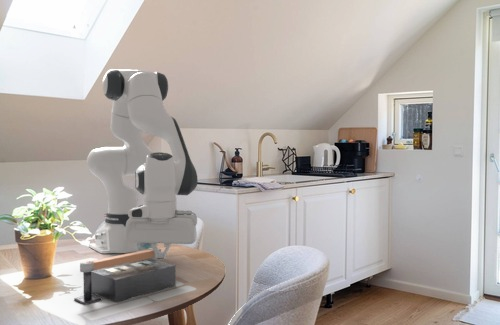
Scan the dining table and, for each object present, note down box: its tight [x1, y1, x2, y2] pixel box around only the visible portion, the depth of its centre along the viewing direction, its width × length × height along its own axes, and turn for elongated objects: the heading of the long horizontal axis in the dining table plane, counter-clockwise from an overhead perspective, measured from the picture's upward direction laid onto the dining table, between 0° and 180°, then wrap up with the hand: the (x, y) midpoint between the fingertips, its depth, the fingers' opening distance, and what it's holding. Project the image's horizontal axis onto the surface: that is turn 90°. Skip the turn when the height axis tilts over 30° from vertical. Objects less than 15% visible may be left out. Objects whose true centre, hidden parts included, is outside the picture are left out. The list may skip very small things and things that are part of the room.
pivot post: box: [73, 272, 102, 306], centre depth 136 cm, size 5×5×8 cm
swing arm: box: [79, 247, 162, 273], centre depth 144 cm, size 25×4×2 cm, turn 137°
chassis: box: [91, 258, 177, 303], centre depth 147 cm, size 14×20×6 cm
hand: (161, 258), depth 147 cm, fingers closed
